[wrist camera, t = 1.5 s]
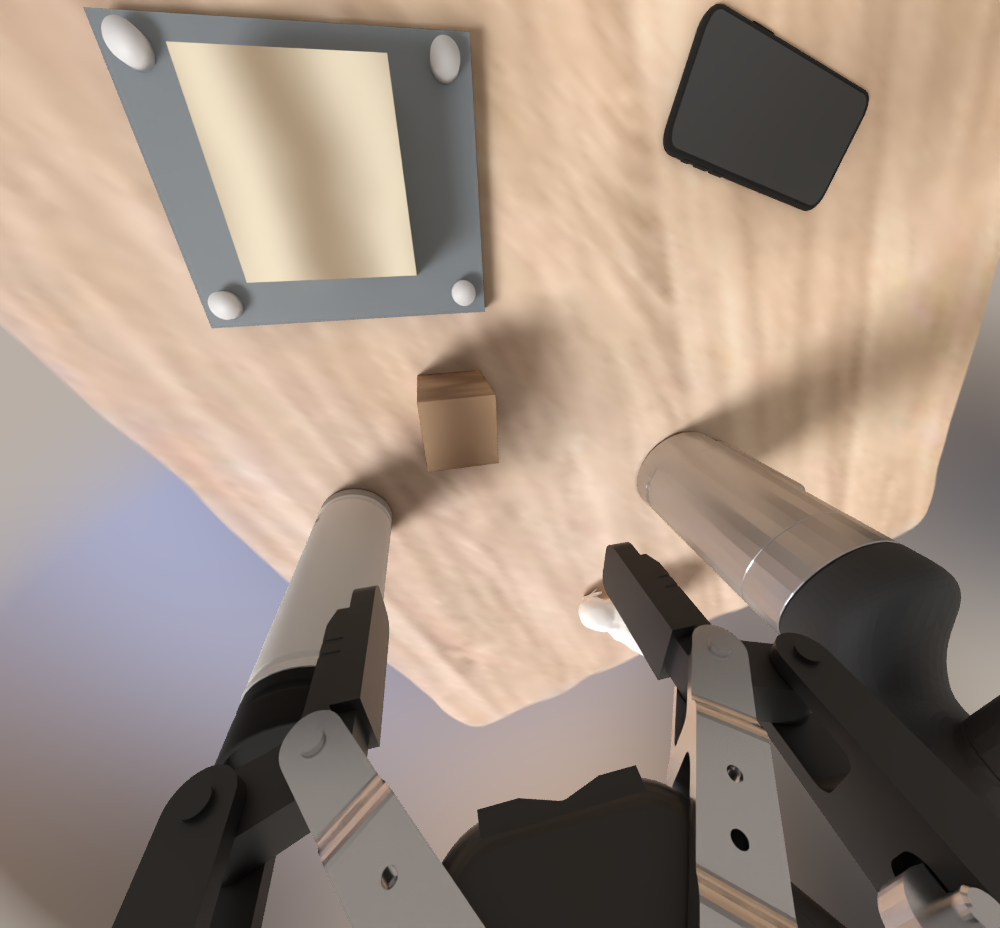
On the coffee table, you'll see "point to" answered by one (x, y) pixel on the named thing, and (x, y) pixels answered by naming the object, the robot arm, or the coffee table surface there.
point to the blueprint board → (423, 144)
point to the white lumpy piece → (605, 619)
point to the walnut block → (457, 420)
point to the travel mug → (309, 619)
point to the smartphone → (761, 111)
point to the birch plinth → (301, 158)
